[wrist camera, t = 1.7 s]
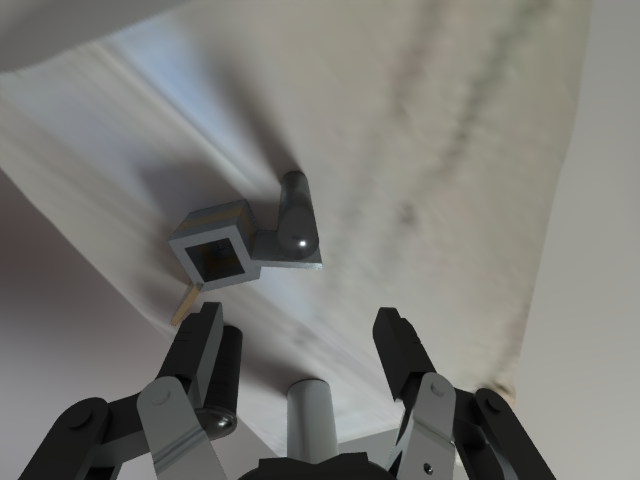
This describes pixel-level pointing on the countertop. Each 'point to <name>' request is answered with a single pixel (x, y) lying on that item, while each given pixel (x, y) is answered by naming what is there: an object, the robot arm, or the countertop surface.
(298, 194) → the hinge pin
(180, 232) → the hinge
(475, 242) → the countertop surface
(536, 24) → the countertop surface
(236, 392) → the drinking cup
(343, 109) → the countertop surface
